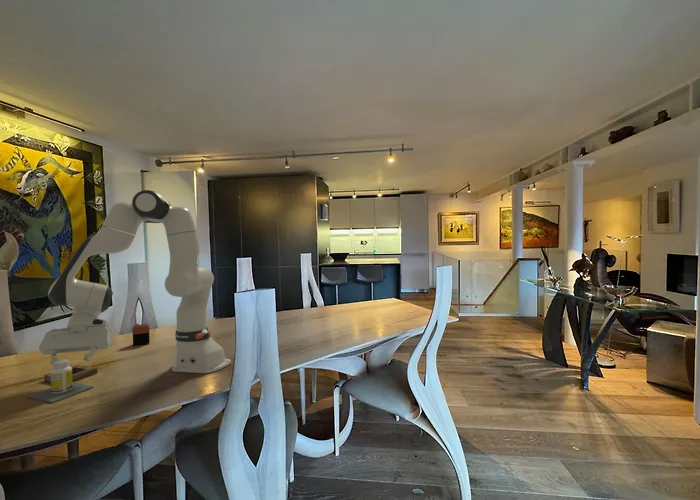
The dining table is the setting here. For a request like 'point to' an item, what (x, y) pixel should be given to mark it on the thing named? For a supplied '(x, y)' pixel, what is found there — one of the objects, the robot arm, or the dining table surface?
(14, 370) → the dining table surface
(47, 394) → the charcoal mat
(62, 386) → the supplement bottle
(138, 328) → the battery
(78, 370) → the walnut holder
